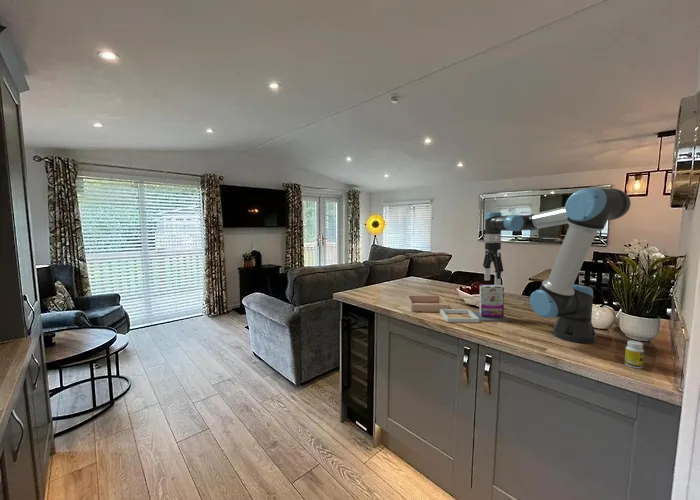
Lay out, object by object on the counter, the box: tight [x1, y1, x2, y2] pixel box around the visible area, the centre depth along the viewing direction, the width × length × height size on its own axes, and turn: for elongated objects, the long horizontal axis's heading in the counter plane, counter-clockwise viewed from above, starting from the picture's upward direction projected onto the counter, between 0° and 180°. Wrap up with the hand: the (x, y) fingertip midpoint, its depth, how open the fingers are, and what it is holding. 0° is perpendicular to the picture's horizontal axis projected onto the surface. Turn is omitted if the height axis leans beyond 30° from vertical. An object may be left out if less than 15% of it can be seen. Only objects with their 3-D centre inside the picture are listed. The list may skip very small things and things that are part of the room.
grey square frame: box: [439, 308, 480, 323], centre depth 163 cm, size 16×16×2 cm
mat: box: [472, 311, 511, 322], centre depth 163 cm, size 14×14×1 cm
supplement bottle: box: [624, 339, 645, 370], centre depth 107 cm, size 5×5×8 cm
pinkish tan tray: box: [406, 294, 450, 313], centre depth 184 cm, size 22×21×4 cm
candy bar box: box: [478, 284, 505, 317], centre depth 162 cm, size 11×5×16 cm, turn 80°
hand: (492, 282), depth 161 cm, fingers open, 13 cm apart
